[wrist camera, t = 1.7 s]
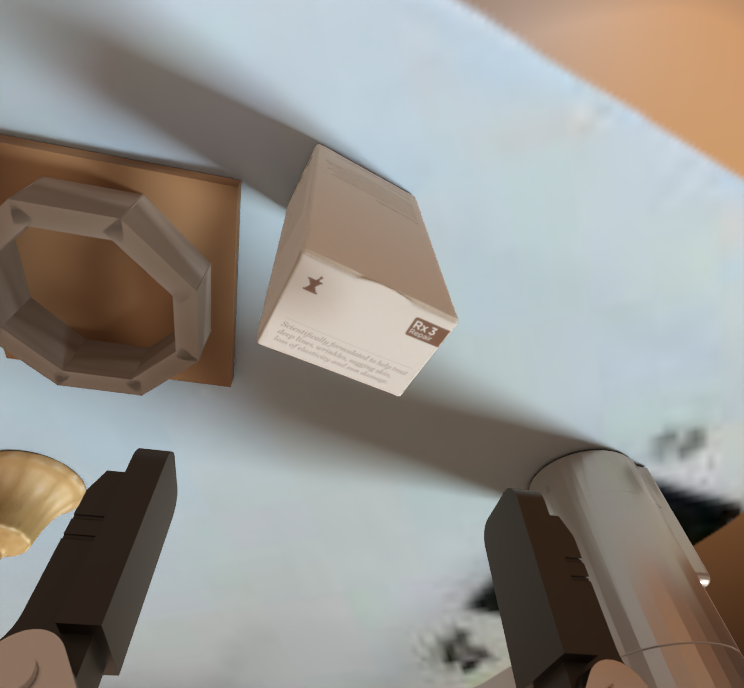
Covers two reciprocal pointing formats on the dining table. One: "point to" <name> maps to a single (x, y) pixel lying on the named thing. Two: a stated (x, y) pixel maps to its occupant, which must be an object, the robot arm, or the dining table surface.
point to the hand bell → (33, 497)
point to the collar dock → (116, 268)
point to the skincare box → (356, 278)
